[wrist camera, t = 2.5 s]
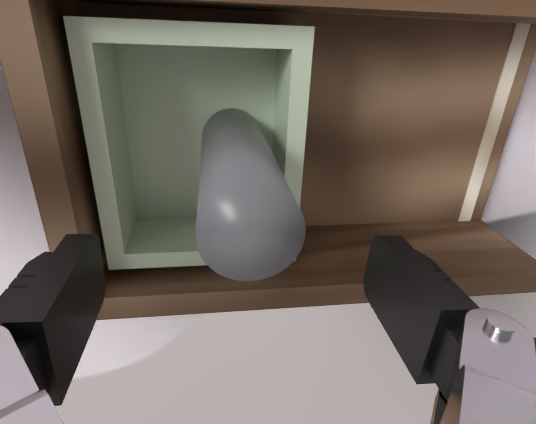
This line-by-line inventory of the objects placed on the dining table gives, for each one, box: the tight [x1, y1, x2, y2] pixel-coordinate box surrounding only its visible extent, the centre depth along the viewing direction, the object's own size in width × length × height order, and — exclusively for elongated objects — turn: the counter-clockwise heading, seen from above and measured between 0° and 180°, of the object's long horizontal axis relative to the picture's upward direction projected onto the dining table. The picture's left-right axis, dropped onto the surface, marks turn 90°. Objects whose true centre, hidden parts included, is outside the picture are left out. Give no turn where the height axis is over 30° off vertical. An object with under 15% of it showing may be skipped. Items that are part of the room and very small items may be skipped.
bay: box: [0, 0, 536, 320], centre depth 18 cm, size 14×24×7 cm, turn 88°
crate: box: [63, 16, 315, 281], centre depth 15 cm, size 10×9×11 cm
